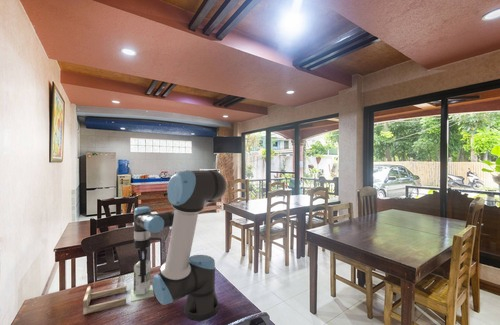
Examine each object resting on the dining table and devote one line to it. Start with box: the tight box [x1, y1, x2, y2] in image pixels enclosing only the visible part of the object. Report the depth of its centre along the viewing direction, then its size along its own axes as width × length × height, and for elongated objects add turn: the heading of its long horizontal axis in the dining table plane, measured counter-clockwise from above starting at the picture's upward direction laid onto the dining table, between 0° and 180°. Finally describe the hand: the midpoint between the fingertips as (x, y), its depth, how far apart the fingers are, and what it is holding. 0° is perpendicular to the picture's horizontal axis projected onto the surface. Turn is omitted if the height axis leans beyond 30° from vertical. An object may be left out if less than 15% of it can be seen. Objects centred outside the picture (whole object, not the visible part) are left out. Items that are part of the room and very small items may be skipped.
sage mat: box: [130, 284, 155, 303], centre depth 116 cm, size 11×10×1 cm
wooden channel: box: [82, 285, 127, 315], centre depth 109 cm, size 12×16×6 cm
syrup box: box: [133, 259, 152, 294], centre depth 116 cm, size 6×6×14 cm
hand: (142, 284), depth 116 cm, fingers closed on syrup box, 7 cm apart
